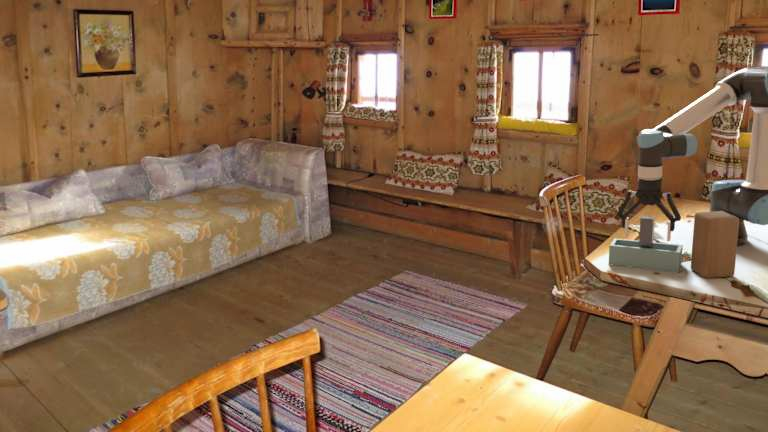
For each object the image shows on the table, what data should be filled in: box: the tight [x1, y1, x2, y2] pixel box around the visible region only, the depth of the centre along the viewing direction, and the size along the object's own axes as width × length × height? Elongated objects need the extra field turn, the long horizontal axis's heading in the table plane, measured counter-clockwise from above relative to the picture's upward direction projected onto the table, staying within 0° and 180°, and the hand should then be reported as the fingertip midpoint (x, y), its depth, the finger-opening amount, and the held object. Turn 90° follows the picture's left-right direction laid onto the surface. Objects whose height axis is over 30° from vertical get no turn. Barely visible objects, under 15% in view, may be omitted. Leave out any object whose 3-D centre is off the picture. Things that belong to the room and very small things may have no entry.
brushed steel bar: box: [638, 214, 656, 249], centre depth 226 cm, size 4×4×16 cm
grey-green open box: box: [608, 238, 684, 273], centre depth 228 cm, size 22×9×7 cm, turn 61°
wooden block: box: [690, 211, 739, 279], centre depth 215 cm, size 10×10×20 cm
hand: (647, 238), depth 226 cm, fingers open, 13 cm apart
